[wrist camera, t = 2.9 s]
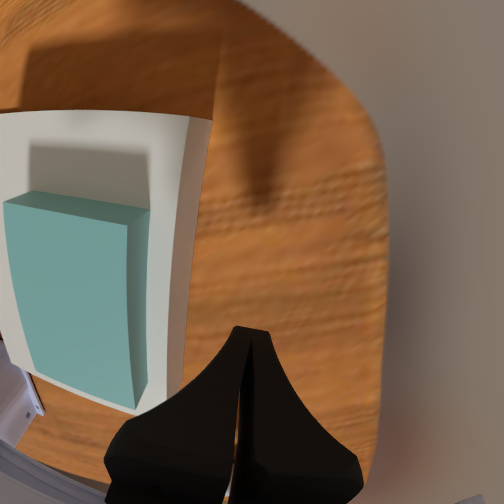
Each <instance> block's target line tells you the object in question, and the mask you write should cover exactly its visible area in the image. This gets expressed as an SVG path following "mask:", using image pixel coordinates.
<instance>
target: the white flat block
mask: <svg viewBox="0 0 504 504" xmlns="http://www.w3.org/2000/svg"><path fill="white" fill-rule="evenodd" d="M211 125H212V120H208V119H202V118H197V117H191V116H183V115H173V114H162V113H149V112H133V111H111V110H51V111H30V112H16V113H5V114H0V331H1V335H2V338H3V341H4V344H5V347H6V350H7V352H8V355H9V358H10V361H11V363H12V364H14V365H16V366H18V367H20V368H21V369H23V370H25V371H27V372H29V373H31V374H33V375H35V376H37V377H39V378H41V379H43V380H46V381H48V382H50V383H52V384H54V385H56V386H59V387H61V388H63V389H65V390H68V391H70V392H72V393H75V394H77V395H80V396H82V397H85V398H87V399H90V400H92V401H95V402H98V403H100V404H103V405H106V406H109V407H111V408H114V409H117V410H120V411H123V412H126V413H129V414H132V415H135V416H138V415H140V414H142V413H145V412H147V411H149V410H151V409H152V408H154V407H156V406H157V405H159V404H161V403H162V402H164V401H166V400H167V399H169V398H170V397H172V396H173V395H175V394H176V393H178V391H179V388H180V385H181V382H182V376H183V359H184V345H185V332H186V320H187V308H188V297H189V287H190V277H191V268H192V259H193V250H194V241H195V233H196V225H197V217H198V210H199V202H200V195H201V188H202V181H203V175H204V168H205V162H206V155H207V149H208V143H209V137H210V131H211ZM30 191H40V192H46V193H53V194H59V195H66V196H72V197H78V198H85V199H91V200H97V201H103V202H109V203H115V204H121V205H127V206H133V207H139V208H144V209H150V223H149V239H148V258H147V288H146V342H147V372H148V384H147V386H146V388H145V390H144V392H143V395H142V397H141V399H140V401H139V404H138V406H137V408H136V410H133V409H130V408H127V407H124V406H121V405H118V404H115V403H112V402H109V401H106V400H103V399H101V398H98V397H95V396H93V395H90V394H87V393H85V392H82V391H80V390H77V389H75V388H73V387H70V386H68V385H65V384H63V383H61V382H59V381H56V380H54V379H52V378H50V377H48V376H45V375H43V374H41V373H39V372H37V371H36V370H35V367H34V364H33V361H32V358H31V355H30V352H29V348H28V345H27V342H26V338H25V335H24V331H23V327H22V324H21V320H20V316H19V311H18V307H17V303H16V298H15V293H14V288H13V283H12V278H11V272H10V266H9V259H8V252H7V244H6V236H5V225H4V213H3V202H4V201H6V200H9V199H12V198H14V197H17V196H19V195H22V194H25V193H27V192H30Z"/></svg>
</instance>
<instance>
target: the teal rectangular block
mask: <svg viewBox="0 0 504 504" xmlns="http://www.w3.org/2000/svg"><path fill="white" fill-rule="evenodd" d="M3 213H4V225H5V236H6V244H7V252H8V259H9V266H10V272H11V278H12V283H13V288H14V293H15V298H16V303H17V307H18V311H19V316H20V320H21V324H22V327H23V331H24V335H25V338H26V342H27V345H28V348H29V352H30V355H31V358H32V361H33V364H34V367H35V370H36V371H37V372H39V373H41V374H43V375H45V376H48V377H50V378H52V379H54V380H56V381H59V382H61V383H63V384H65V385H68V386H70V387H73V388H75V389H77V390H80V391H82V392H85V393H87V394H90V395H93V396H95V397H98V398H101V399H103V400H106V401H109V402H112V403H115V404H118V405H121V406H124V407H127V408H130V409H133V410H136V408H137V406H138V404H139V401H140V399H141V397H142V395H143V392H144V390H145V388H146V386H147V384H148V372H147V342H146V288H147V258H148V239H149V223H150V209H144V208H139V207H133V206H127V205H121V204H115V203H109V202H103V201H97V200H91V199H85V198H78V197H72V196H66V195H59V194H53V193H46V192H40V191H30V192H27V193H25V194H22V195H19V196H17V197H14V198H12V199H9V200H6V201H4V202H3Z"/></svg>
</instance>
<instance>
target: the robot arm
mask: <svg viewBox="0 0 504 504" xmlns="http://www.w3.org/2000/svg"><path fill="white" fill-rule="evenodd" d="M239 390H240V400H239V425H238V442H237V449H236V455H235V462H234V468H233V475H232V481H231V487H230V493H229V499H228V504H347V503H348V502H349V501H350V500H352V499H353V498H354V497H355V496H356V495H357V494H358V493H359V492H360V491H361V490H362V488H363V486H364V481H363V475H362V471H361V467H360V464H359V461H358V458H357V456H356V455H355V454H353V453H352V452H351V451H349V450H348V449H347V448H346V447H344V446H343V445H342V444H340V443H339V442H338V441H337V440H336V439H335V438H333V437H332V436H331V435H330V434H329V433H328V432H327V431H326V430H325V429H324V428H323V427H322V426H321V425H320V423H319V422H318V421H317V420H316V419H315V418H314V417H313V416H312V415H311V413H310V412H309V411H308V409H307V408H306V407H305V405H304V404H303V403H302V401H301V400H300V398H299V397H298V395H297V394H296V392H295V390H294V389H293V387H292V385H291V384H290V382H289V380H288V378H287V376H286V374H285V372H284V370H283V368H282V366H281V364H280V361H279V359H278V357H277V354H276V352H275V349H274V346H273V343H272V340H271V336H270V334H269V332H268V331H263V330H257V329H252V328H247V327H241V326H235V327H233V330H232V332H231V334H230V336H229V338H228V340H227V341H226V343H225V344H224V346H223V347H222V348H221V350H220V351H219V352H218V354H217V355H216V356H215V358H214V359H213V360H212V361H211V362H210V363H209V364H208V366H207V367H206V368H205V369H204V370H203V371H202V372H201V373H200V374H199V375H198V376H197V377H196V378H195V379H193V380H192V381H191V382H190V383H189V384H188V385H187V386H185V387H184V388H183V389H181V390H180V391H179V392H178V393H176V394H175V395H173V396H172V397H170V398H169V399H167V400H166V401H164V402H162V403H161V404H159V405H157V406H156V407H154V408H152V409H151V410H149V411H147V412H145V413H142V414H140V415H138V416H136V417H134V418H132V419H129V420H127V421H126V422H125V423H124V424H123V425H122V427H121V428H120V429H119V431H118V432H117V433H116V435H115V436H114V438H113V439H112V441H111V443H110V445H109V447H108V450H107V452H106V454H105V456H104V464H105V466H106V469H107V471H108V473H109V475H110V478H111V480H112V482H111V484H110V487H109V489H108V492H107V494H105V493H102V492H100V491H98V490H95V489H93V488H90V487H88V486H86V485H83V484H81V483H79V482H77V481H75V480H72V479H70V478H68V477H66V476H64V475H62V474H60V473H58V472H56V471H54V470H52V469H50V468H48V467H46V466H44V465H43V464H41V463H39V462H37V461H36V460H34V459H32V458H30V457H29V456H27V455H25V454H24V453H22V452H20V451H19V450H17V449H15V446H16V445H17V443H18V442H19V440H20V438H21V437H22V435H23V434H24V432H25V431H26V429H27V428H28V426H29V424H30V423H31V421H32V420H33V418H34V417H35V415H36V414H37V413H38V414H40V415H42V416H44V414H45V411H44V409H43V407H42V405H41V402H40V400H39V398H38V395H37V393H36V391H35V388H34V386H33V383H32V380H31V378H30V375H29V373H28V372H27V371H25V370H23V369H21V368H20V367H18V366H16V365H14V364H12V363H11V361H10V358H9V355H8V352H7V350H6V347H5V344H4V342H3V341H2V340H0V504H222V502H223V500H224V497H225V494H226V491H227V488H228V486H229V483H230V480H231V474H232V467H233V457H234V442H235V429H236V419H237V409H238V399H239ZM456 504H485V502H484V499H483V496H482V494H479V495H476V496H473V497H471V498H467V499H464V500H462V501H460V502H457V503H456Z"/></svg>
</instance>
